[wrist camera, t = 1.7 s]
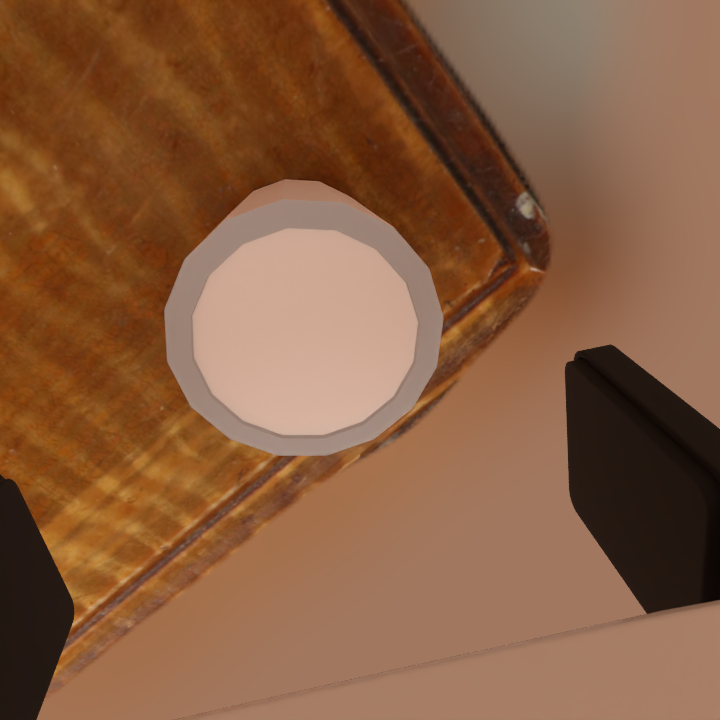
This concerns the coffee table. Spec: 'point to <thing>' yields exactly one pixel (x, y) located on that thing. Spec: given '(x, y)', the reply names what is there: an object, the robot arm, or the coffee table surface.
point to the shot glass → (303, 322)
